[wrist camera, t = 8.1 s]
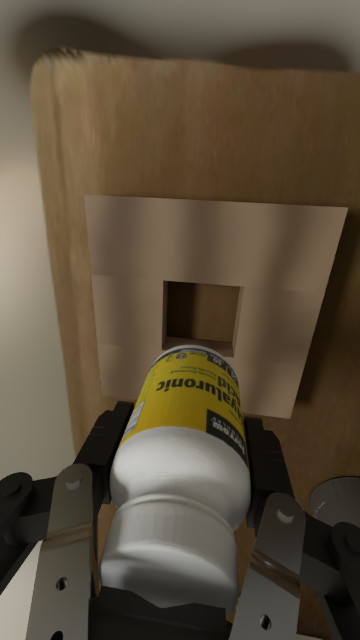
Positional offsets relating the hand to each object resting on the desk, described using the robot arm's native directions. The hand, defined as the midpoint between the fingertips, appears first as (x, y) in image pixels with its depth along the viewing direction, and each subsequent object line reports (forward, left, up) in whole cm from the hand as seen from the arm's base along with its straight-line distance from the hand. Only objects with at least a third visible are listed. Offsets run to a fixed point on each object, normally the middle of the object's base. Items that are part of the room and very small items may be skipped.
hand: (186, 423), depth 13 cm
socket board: (0, 0, -15) cm, 15 cm away
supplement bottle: (0, 0, -4) cm, 4 cm away
